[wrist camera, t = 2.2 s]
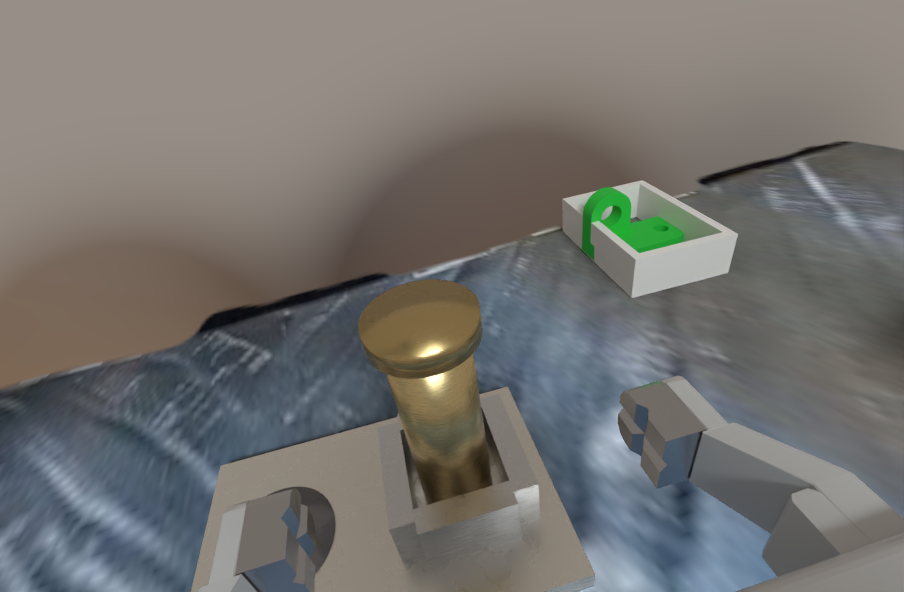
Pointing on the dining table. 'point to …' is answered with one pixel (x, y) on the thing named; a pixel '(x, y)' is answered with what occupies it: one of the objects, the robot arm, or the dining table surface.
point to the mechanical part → (626, 223)
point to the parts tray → (659, 268)
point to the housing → (416, 513)
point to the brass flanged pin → (433, 380)
